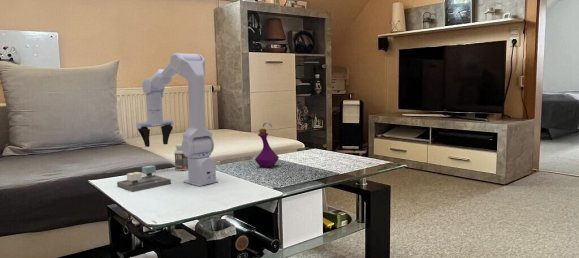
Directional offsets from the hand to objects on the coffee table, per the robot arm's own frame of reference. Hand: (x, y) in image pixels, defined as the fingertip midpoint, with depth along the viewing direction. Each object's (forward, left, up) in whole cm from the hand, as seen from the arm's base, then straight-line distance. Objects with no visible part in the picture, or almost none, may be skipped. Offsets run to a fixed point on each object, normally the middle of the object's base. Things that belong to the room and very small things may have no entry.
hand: (156, 145), depth 162 cm
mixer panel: (-17, +14, -10) cm, 25 cm away
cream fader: (-19, +19, -8) cm, 28 cm away
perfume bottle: (-27, -33, -10) cm, 44 cm away
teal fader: (-13, +11, -8) cm, 19 cm away
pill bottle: (-5, -8, -10) cm, 14 cm away
